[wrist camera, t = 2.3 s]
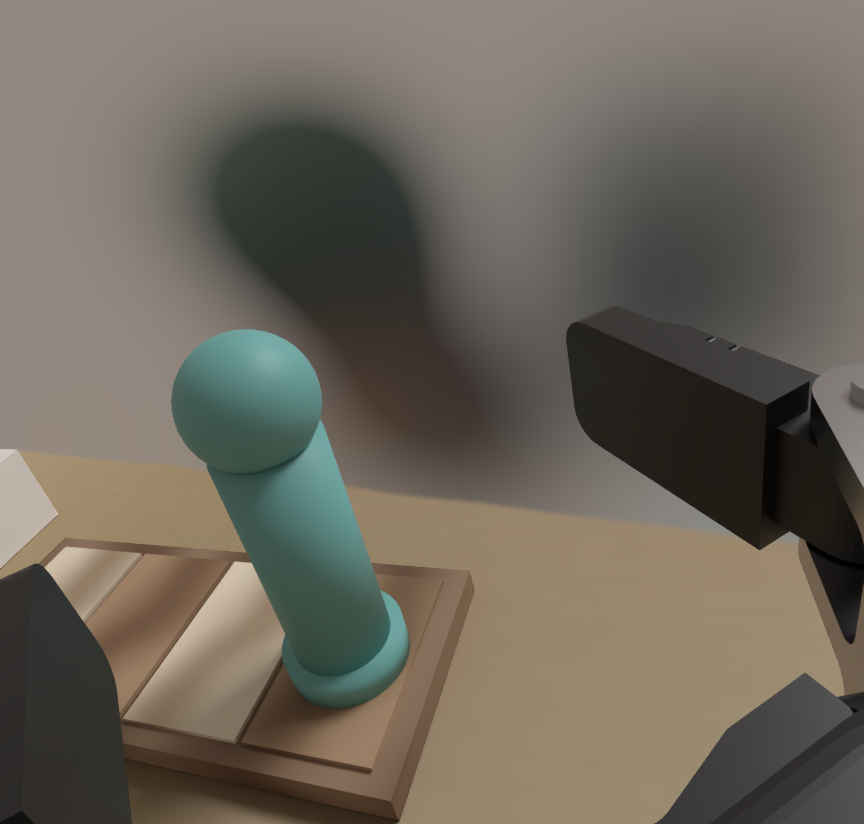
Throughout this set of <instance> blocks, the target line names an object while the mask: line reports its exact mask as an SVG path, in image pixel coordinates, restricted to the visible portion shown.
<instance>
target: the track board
mask: <svg viewBox="0 0 864 824" xmlns="http://www.w3.org/2000/svg"><path fill="white" fill-rule="evenodd" d="M39 564H40V565H41V566H43V567H44V568H45V569H46V570H47V571H48V572H49V573H50V575H51V576H52V577H53V579H54V580H55V582H56V583H57V584H58V586H59V587H60V589H61V590H62V592H63V593H64V594H65V596H66V597H67V599H68V600H69V601H70V603H71V604H72V606H73V607H74V609H75V610H76V611H77V613H78V614H79V616H80V617H81V619H82V620H83V621H84V623H85V624H86V626H87V627H88V629H89V630H90V631H91V633H92V634H93V636H94V637H95V639H96V640H97V641H98V643H99V644H100V646H101V648H102V649H103V651H104V653H105V655H106V657H107V659H108V662H109V664H110V667H111V669H112V672H113V675H114V678H115V682H116V687H117V694H118V703H119V712H120V721H121V730H122V739H123V748H124V757H125V759H129V760H133V761H138V762H142V763H146V764H151V765H155V766H159V767H164V768H168V769H173V770H177V771H181V772H186V773H190V774H195V775H199V776H203V777H208V778H212V779H217V780H221V781H225V782H230V783H234V784H239V785H243V786H247V787H252V788H256V789H261V790H265V791H269V792H274V793H278V794H283V795H287V796H291V797H296V798H300V799H305V800H309V801H313V802H318V803H322V804H327V805H331V806H335V807H340V808H344V809H349V810H353V811H357V812H362V813H366V814H371V815H375V816H379V817H384V818H388V819H393V820H397V821H400V817H401V814H402V811H403V808H404V805H405V802H406V799H407V796H408V793H409V790H410V787H411V784H412V781H413V777H414V774H415V771H416V768H417V765H418V762H419V759H420V756H421V753H422V750H423V747H424V744H425V740H426V737H427V734H428V731H429V728H430V725H431V722H432V719H433V716H434V713H435V710H436V707H437V704H438V700H439V697H440V694H441V691H442V688H443V685H444V682H445V679H446V676H447V673H448V670H449V667H450V664H451V660H452V657H453V654H454V651H455V648H456V645H457V642H458V639H459V636H460V633H461V630H462V627H463V623H464V620H465V617H466V614H467V611H468V608H469V605H470V602H471V599H472V596H473V593H474V587H473V583H472V579H471V575H470V571H462V570H450V569H438V568H426V567H413V566H401V565H389V564H377V563H371V565H372V568H373V570H374V573H375V576H376V579H377V582H378V585H379V588H380V590H381V591H383V592H385V593H387V594H388V595H390V596H391V597H392V598H393V599H394V600H395V601H396V602H397V604H398V605H399V607H400V609H401V612H402V615H403V618H404V621H405V624H406V627H407V630H408V633H409V637H410V651H409V656H408V659H407V662H406V664H405V667H404V669H403V670H402V672H401V674H400V675H399V676H398V678H397V679H396V680H395V681H394V683H393V684H392V685H391V686H390V687H389V688H387V689H386V690H385V691H384V692H382V693H381V694H380V695H378V696H377V697H375V698H373V699H371V700H370V701H368V702H365V703H363V704H360V705H358V706H354V707H350V708H344V709H327V708H322V707H318V706H315V705H313V704H311V703H309V702H308V701H306V700H305V699H304V698H303V697H301V696H300V694H299V693H298V692H297V690H296V688H295V686H294V684H293V682H292V680H291V678H290V676H289V674H288V672H287V670H286V668H285V666H284V663H283V660H282V644H283V639H284V636H285V633H284V631H283V629H282V627H281V624H280V622H279V620H278V618H277V616H276V614H275V612H274V609H273V607H272V605H271V603H270V601H269V599H268V597H267V595H266V592H265V590H264V588H263V586H262V584H261V582H260V580H259V578H258V575H257V573H256V571H255V569H254V567H253V565H252V563H251V561H250V558H249V556H248V554H247V553H243V552H230V551H218V550H206V549H194V548H182V547H169V546H157V545H145V544H133V543H121V542H108V541H96V540H84V539H72V538H64V539H63V540H62V541H61V542H60V543H59V544H58V545H57V546H56V547H55V548H54V549H53V550H52V551H51V552H50V553H49V554H48V555H47V556H46V557H45V558H44V559H43V560H42V561H41V562H40V563H39Z"/></svg>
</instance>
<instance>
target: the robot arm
mask: <svg viewBox="0 0 864 824" xmlns="http://www.w3.org/2000/svg"><path fill="white" fill-rule="evenodd" d="M566 341H567V350H568V358H569V366H570V374H571V382H572V390H573V398H574V406H575V412H576V415H577V418H578V420H579V423H580V425H581V427H582V428H583V430H584V431H585V433H586V434H587V435H588V437H589V438H590V439H591V440H592V441H594V442H595V443H596V444H598V445H599V446H601V447H602V448H604V449H605V450H607V451H608V452H610V453H611V454H613V455H615V456H616V457H618V458H619V459H621V460H622V461H624V462H625V463H627V464H628V465H630V466H631V467H633V468H634V469H636V470H637V471H639V472H641V473H642V474H644V475H645V476H647V477H648V478H650V479H652V480H653V481H654V482H656V483H657V484H659V485H661V486H662V487H663V488H665V489H667V490H668V491H670V492H671V493H673V494H674V495H676V496H677V497H679V498H680V499H682V500H683V501H685V502H687V503H688V504H689V505H691V506H693V507H694V508H696V509H697V510H699V511H700V512H702V513H703V514H705V515H707V516H708V517H709V518H711V519H712V520H714V521H716V522H717V523H719V524H720V525H722V526H723V527H725V528H726V529H728V530H729V531H731V532H732V533H734V534H735V535H737V536H738V537H740V538H742V539H743V540H745V541H746V542H748V543H749V544H751V545H752V546H754V547H755V548H757V549H758V550H761V549H762V548H764V547H765V546H767V545H769V544H770V543H772V542H773V541H775V540H777V539H778V538H780V537H781V536H783V535H784V534H786V533H788V532H789V531H790V532H792V533H794V534H795V535H797V536H798V537H799V545H798V555H799V559H800V562H801V565H802V568H803V570H804V573H805V575H806V578H807V581H808V583H809V586H810V589H811V591H812V594H813V597H814V599H815V602H816V605H817V607H818V610H819V613H820V615H821V618H822V620H823V623H824V626H825V628H826V631H827V634H828V636H829V639H830V642H831V644H832V647H833V650H834V652H835V655H836V658H837V660H838V663H839V666H840V670H841V674H842V678H843V684H844V692H845V695H844V696H840V697H836V696H835V695H833V694H832V693H831V692H829V691H828V690H827V689H826V688H824V687H823V686H822V685H820V684H819V683H818V682H817V681H815V680H814V679H813V678H811V677H810V676H809V675H808V674H806V673H804V674H802V675H801V676H800V677H798V678H797V679H796V680H794V681H793V682H791V683H790V684H789V685H787V686H786V687H785V688H783V689H782V690H780V691H779V692H778V693H776V694H775V695H774V696H772V697H771V698H769V699H768V700H767V701H765V702H764V703H763V704H761V705H760V706H758V707H757V708H756V709H754V710H753V711H752V712H750V713H749V714H747V715H746V716H745V717H743V718H742V719H740V720H739V721H738V722H736V723H735V724H734V725H732V726H731V727H729V728H728V729H727V730H726V731H725V733H724V734H723V736H722V737H721V738H720V740H719V741H718V743H717V744H716V745H715V747H714V748H713V750H712V751H711V752H710V754H709V755H708V757H707V758H706V759H705V761H704V762H703V764H702V765H701V766H700V768H699V769H698V771H697V772H696V774H695V775H694V776H693V778H692V779H691V781H690V782H689V783H688V785H687V786H686V788H685V789H684V790H683V792H682V793H681V795H680V796H679V797H678V799H677V800H676V802H675V803H674V804H673V806H672V807H671V809H670V810H669V811H668V813H667V814H666V815H665V816H664V817H663V818H662V819H661V820H659V821H658V822H657V823H655V824H864V363H863V364H852V365H846V366H842V367H838V368H835V369H832V370H829V371H828V372H825V373H824V374H822V375H821V376H820V375H817V374H814V373H812V372H809V371H806V370H804V369H801V368H798V367H796V366H793V365H790V364H788V363H785V362H782V361H780V360H777V359H774V358H772V357H769V356H766V355H764V354H761V353H758V352H755V351H753V350H750V349H748V348H745V347H740V348H738V347H737V346H736V344H734V343H731V342H729V341H726V340H724V339H721V338H717V339H714V337H713V335H710V334H708V333H705V332H702V331H699V330H697V329H694V328H692V327H689V326H686V325H680V324H672V323H664V322H657V321H654V320H652V319H649V318H646V317H644V316H641V315H639V314H636V313H634V312H631V311H629V310H626V309H623V308H621V307H617V306H610V307H608V308H606V309H604V310H601V311H599V312H597V313H594V314H592V315H590V316H588V317H586V318H583V319H581V320H579V321H577V322H574V323H573V324H571V325H570V326H569V328H568V330H567V335H566ZM0 824H132V820H131V811H130V802H129V793H128V784H127V775H126V766H125V757H124V748H123V739H122V730H121V721H120V712H119V703H118V694H117V687H116V682H115V678H114V675H113V672H112V669H111V667H110V664H109V662H108V659H107V657H106V655H105V653H104V651H103V649H102V648H101V646H100V644H99V643H98V641H97V640H96V639H95V637H94V636H93V634H92V633H91V631H90V630H89V629H88V627H87V626H86V624H85V623H84V621H83V620H82V619H81V617H80V616H79V614H78V613H77V611H76V610H75V609H74V607H73V606H72V604H71V603H70V601H69V600H68V599H67V597H66V596H65V594H64V593H63V592H62V590H61V589H60V587H59V586H58V584H57V583H56V582H55V580H54V579H53V577H52V576H51V575H50V573H49V572H48V571H47V570H46V569H45V568H44V567H43V566H41V565H40V564H33V565H31V566H29V567H27V568H24V569H22V570H20V571H18V572H15V573H13V574H11V575H9V576H7V577H4V578H2V579H0Z"/></svg>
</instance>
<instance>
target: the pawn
mask: <svg viewBox="0 0 864 824" xmlns="http://www.w3.org/2000/svg"><path fill="white" fill-rule="evenodd" d="M171 404H172V413H173V418H174V422H175V425H176V428H177V431H178V433H179V434H180V436H181V438H182V440H183V441H184V443H185V444H186V445H187V447H188V448H189V449H190V450H191V451H192V452H193V453H194V454H195V455H196V456H197V457H198V458H200V459H201V460H202V461H204V462H205V463H207V469H208V471H209V473H210V476H211V478H212V480H213V482H214V484H215V486H216V488H217V490H218V493H219V495H220V497H221V499H222V501H223V503H224V505H225V507H226V510H227V512H228V514H229V516H230V518H231V520H232V522H233V524H234V527H235V529H236V531H237V533H238V535H239V537H240V539H241V541H242V544H243V546H244V548H245V550H246V552H247V554H248V556H249V558H250V561H251V563H252V565H253V567H254V569H255V571H256V573H257V575H258V578H259V580H260V582H261V584H262V586H263V588H264V590H265V592H266V595H267V597H268V599H269V601H270V603H271V605H272V607H273V609H274V612H275V614H276V616H277V618H278V620H279V622H280V624H281V627H282V629H283V631H284V633H285V636H284V639H283V644H282V660H283V663H284V666H285V668H286V670H287V672H288V674H289V676H290V678H291V680H292V682H293V684H294V686H295V688H296V690H297V692H298V693H299V694H300V696H301V697H303V698H304V699H305V700H306V701H308V702H309V703H311V704H313V705H315V706H318V707H322V708H327V709H344V708H350V707H354V706H358V705H360V704H363V703H365V702H368V701H370V700H371V699H373V698H375V697H377V696H378V695H380V694H381V693H382V692H384V691H385V690H386V689H387V688H389V687H390V686H391V685H392V684H393V683H394V681H395V680H396V679H397V678H398V676H399V675H400V674H401V672H402V670H403V669H404V667H405V664H406V662H407V659H408V656H409V651H410V637H409V633H408V630H407V627H406V624H405V621H404V618H403V615H402V612H401V609H400V607H399V605H398V604H397V602H396V601H395V600H394V599H393V598H392V597H391V596H390V595H388V594H387V593H385V592H383V591H381V590H380V588H379V585H378V582H377V579H376V576H375V573H374V570H373V568H372V565H371V562H370V559H369V556H368V553H367V550H366V547H365V544H364V541H363V539H362V536H361V533H360V530H359V527H358V524H357V521H356V518H355V515H354V512H353V510H352V507H351V504H350V501H349V498H348V495H347V492H346V489H345V486H344V483H343V481H342V478H341V475H340V472H339V469H338V466H337V463H336V460H335V457H334V455H333V452H332V449H331V446H330V443H329V440H328V437H327V434H326V432H325V428H324V425H323V423H322V422H321V420H320V415H321V409H322V396H321V389H320V385H319V381H318V378H317V376H316V373H315V371H314V369H313V368H312V366H311V364H310V363H309V361H308V360H307V359H306V357H305V356H304V355H303V354H302V353H301V352H300V351H299V350H298V349H297V348H296V347H295V346H294V345H292V344H291V343H289V342H288V341H286V340H285V339H283V338H280V337H278V336H276V335H274V334H271V333H268V332H264V331H258V330H250V329H249V330H248V329H247V330H233V331H228V332H225V333H222V334H219V335H216V336H214V337H212V338H210V339H208V340H206V341H205V342H203V343H202V344H201V345H199V346H198V347H197V348H196V349H194V351H192V353H191V354H190V355H189V356H188V357H187V358H186V359H185V361H184V363H183V364H182V366H181V367H180V369H179V371H178V374H177V376H176V378H175V381H174V385H173V389H172V400H171Z"/></svg>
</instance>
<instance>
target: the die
mask: <svg viewBox="0 0 864 824" xmlns="http://www.w3.org/2000/svg"><path fill="white" fill-rule="evenodd" d="M57 515H58V513H57V511H56V510H55V508H54V507H53V505H52V504H51V502H50V500H49V499H48V497H47V496H46V494H45V493H44V491H43V490H42V488H41V486H40V485H39V483H38V482H37V480H36V479H35V477H34V476H33V474H32V472H31V471H30V469H29V468H28V466H27V465H26V463H25V462H24V460H23V458H22V457H21V455H20V454H19V452H18V451H17V450H7V449H0V568H1V567H2V566H4V565H5V564H6V563H7V562H8V561H9V560H10V559H11V558H12V557H13V556H14V555H15V554H16V553H17V552H19V551H20V550H21V549H22V548H23V547H24V546H25V545H26V544H27V543H28V542H29V541H30V540H31V539H33V538H34V537H35V536H36V535H37V534H38V533H39V532H40V531H41V530H42V529H43V528H44V527H45V526H46V525H48V524H49V523H50V522H51V521H52V520H53V519H54V518H55V517H56V516H57Z"/></svg>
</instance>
